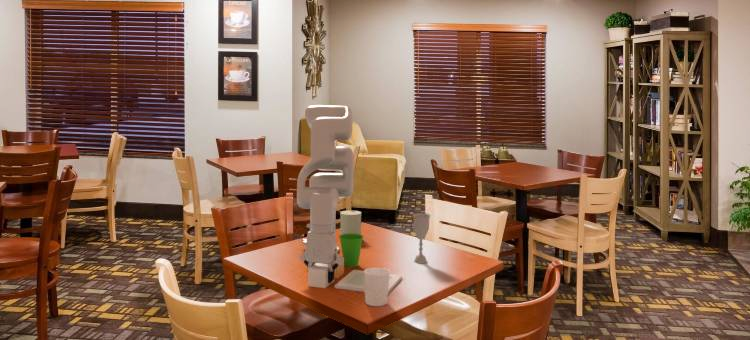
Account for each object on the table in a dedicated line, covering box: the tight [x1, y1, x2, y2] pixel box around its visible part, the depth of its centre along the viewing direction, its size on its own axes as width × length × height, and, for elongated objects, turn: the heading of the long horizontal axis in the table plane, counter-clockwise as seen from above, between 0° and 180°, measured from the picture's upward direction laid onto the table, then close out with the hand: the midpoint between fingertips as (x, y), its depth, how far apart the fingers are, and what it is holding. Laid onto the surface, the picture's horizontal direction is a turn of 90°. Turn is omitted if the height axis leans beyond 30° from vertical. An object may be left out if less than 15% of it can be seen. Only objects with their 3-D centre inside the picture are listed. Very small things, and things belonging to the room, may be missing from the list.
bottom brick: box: [307, 263, 335, 289], centre depth 206 cm, size 6×8×6 cm
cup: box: [338, 233, 364, 268], centre depth 226 cm, size 9×9×11 cm
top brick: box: [334, 256, 345, 279], centre depth 215 cm, size 6×6×6 cm
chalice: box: [412, 212, 432, 264], centre depth 232 cm, size 7×7×18 cm
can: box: [339, 209, 362, 236], centre depth 265 cm, size 9×9×12 cm
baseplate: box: [334, 269, 403, 294], centre depth 207 cm, size 18×18×1 cm
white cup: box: [363, 267, 391, 307], centre depth 188 cm, size 8×8×10 cm
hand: (321, 280), depth 206 cm, fingers closed on bottom brick, 6 cm apart
